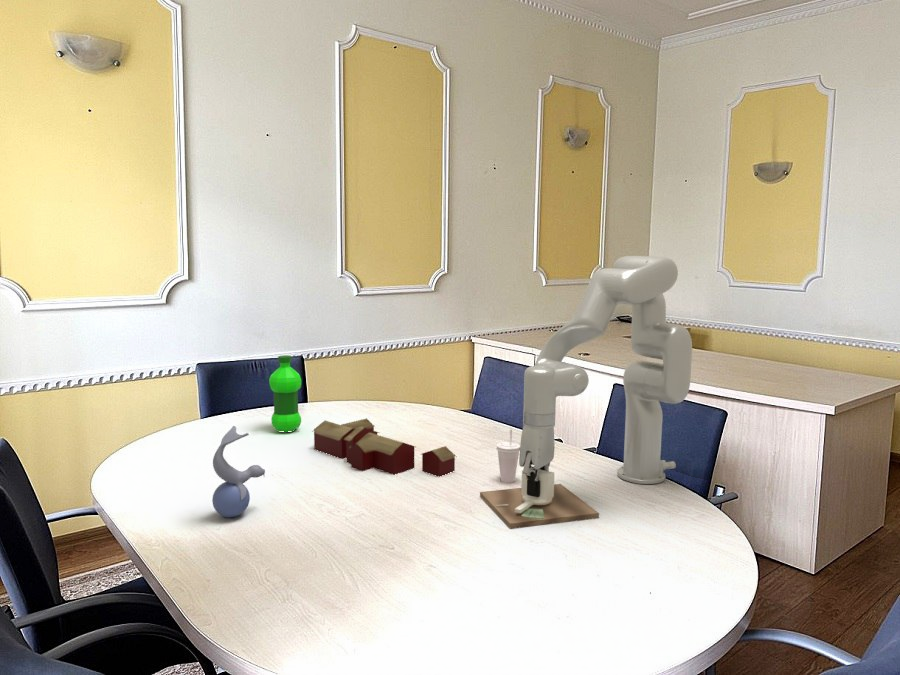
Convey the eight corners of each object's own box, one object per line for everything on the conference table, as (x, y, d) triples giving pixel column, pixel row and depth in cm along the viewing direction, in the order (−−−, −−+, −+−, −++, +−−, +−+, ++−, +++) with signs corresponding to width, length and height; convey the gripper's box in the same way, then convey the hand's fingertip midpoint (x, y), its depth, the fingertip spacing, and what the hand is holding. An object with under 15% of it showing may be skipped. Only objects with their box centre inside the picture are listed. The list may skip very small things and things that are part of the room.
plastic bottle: (299, 435, 224) (297, 359, 221) (266, 435, 225) (264, 358, 221) (305, 427, 234) (304, 354, 231) (274, 426, 235) (272, 353, 231)
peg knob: (530, 492, 171) (531, 464, 170) (557, 498, 167) (557, 470, 166) (504, 509, 160) (504, 480, 159) (531, 516, 156) (532, 486, 155)
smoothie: (518, 485, 181) (519, 433, 179) (494, 483, 182) (495, 431, 180) (521, 477, 187) (522, 426, 185) (497, 475, 188) (498, 425, 186)
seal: (273, 512, 161) (271, 429, 159) (221, 526, 154) (218, 438, 151) (258, 501, 168) (255, 421, 165) (207, 514, 160) (203, 430, 157)
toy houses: (306, 452, 208) (306, 419, 206) (359, 438, 223) (359, 407, 221) (411, 490, 178) (411, 451, 176) (464, 470, 193) (465, 435, 191)
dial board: (560, 488, 179) (560, 482, 179) (598, 517, 160) (599, 512, 160) (479, 496, 173) (480, 491, 172) (510, 528, 154) (510, 522, 154)
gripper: (540, 409, 172) (538, 480, 175) (508, 423, 159) (506, 500, 161) (568, 413, 168) (565, 486, 171) (538, 428, 155) (535, 507, 157)
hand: (537, 492), depth 166 cm, fingers closed on peg knob, 3 cm apart
